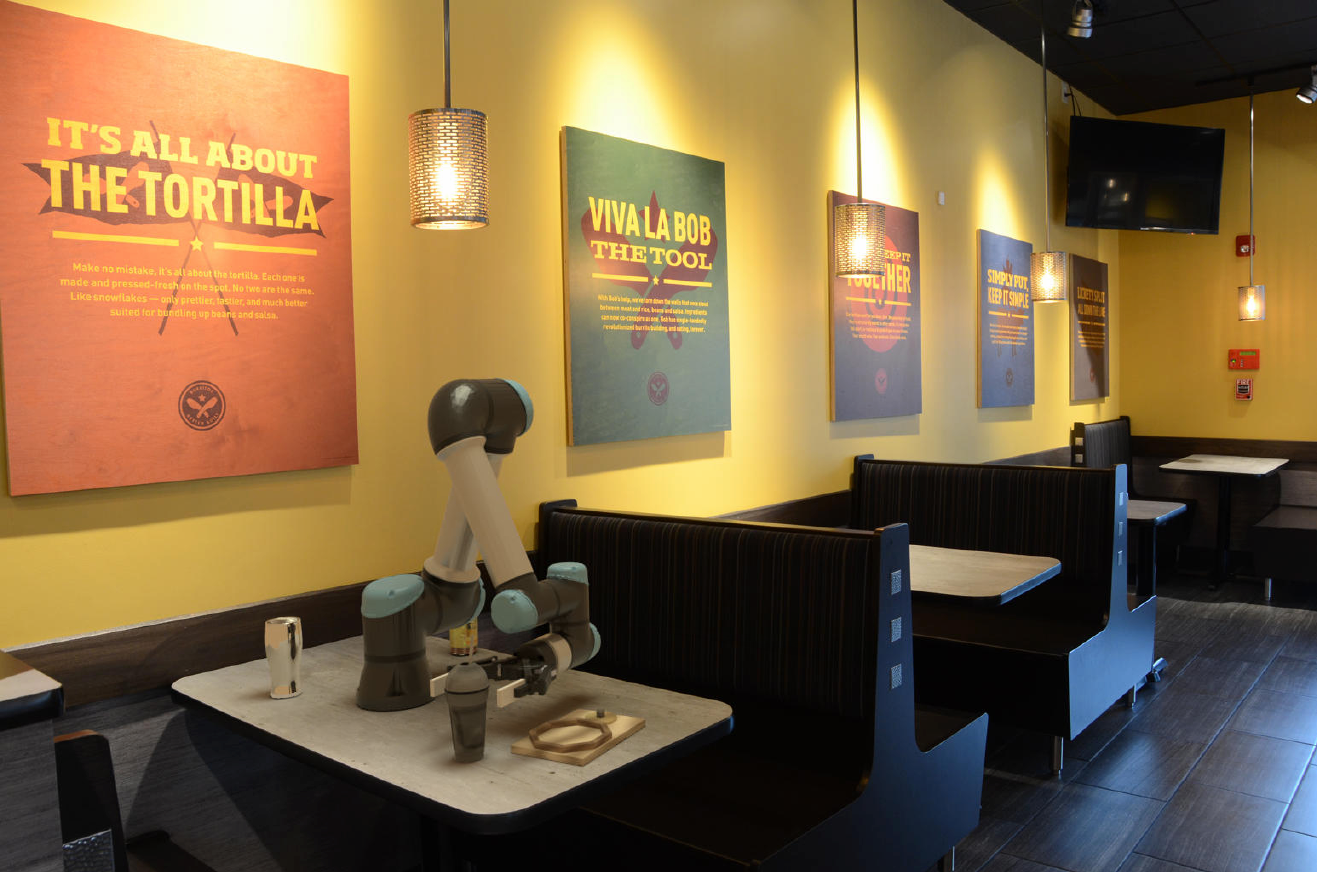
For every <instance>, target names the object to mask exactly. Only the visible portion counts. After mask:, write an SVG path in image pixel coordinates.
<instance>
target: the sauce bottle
mask: <svg viewBox="0 0 1317 872" xmlns="http://www.w3.org/2000/svg"><path fill="white" fill-rule="evenodd" d="M471 635H474V643H473V654H475V653H476V652H477V651H478V642H479V641H478V640H479V639H478V616H477V617H476V618H475V619H474V620H473V621H471V622H469V623H467V624H465V625H464V626H462V627H459V628H456V629H450V630H449V647H450V653H451V652H452V653H456V654H469V652H470V641H471ZM475 651H476V652H475ZM474 652H475V653H474ZM452 653H451V654H452Z"/></svg>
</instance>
